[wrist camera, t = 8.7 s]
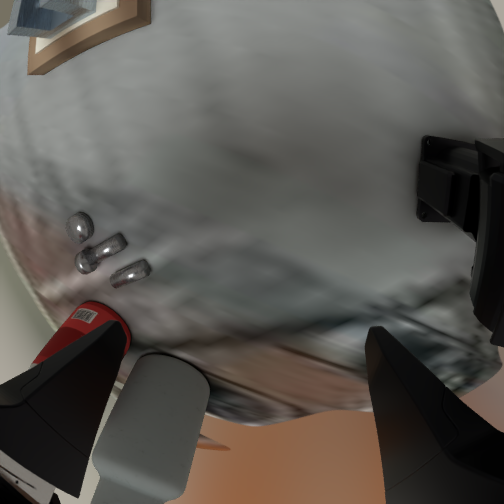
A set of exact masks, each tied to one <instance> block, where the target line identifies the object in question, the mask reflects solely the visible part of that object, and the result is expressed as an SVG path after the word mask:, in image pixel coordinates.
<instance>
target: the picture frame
mask: <svg viewBox="0 0 504 504" xmlns="http://www.w3.org/2000/svg"><path fill="white" fill-rule="evenodd" d="M149 24H151V0H97V2H96V12H95V13H93V14H91V15H89V16H88V17H86V18H84V19H82V20H80V21H79V22H77V23H75V24H73V25H72V26H70V27H68V28H67V29H65V30H64V31H62V32H60V33H59V34H57V35H56V36H54V37H53V38H51V39H47V38H39V37H30V41H29V53H28V75H44V74H46V73H47V72H49V71H50V70H52V69H54V68H55V67H57V66H59V65H60V64H62V63H64V62H65V61H67V60H69V59H71V58H73V57H74V56H76V55H78V54H80V53H82V52H84V51H86V50H88V49H90V48H92V47H94V46H96V45H98V44H100V43H103V42H105V41H107V40H109V39H112V38H114V37H116V36H119V35H121V34H124V33H126V32H129V31H132V30H134V29H137V28H140V27H143V26H146V25H149Z"/></svg>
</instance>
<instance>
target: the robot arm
mask: <svg viewBox="0 0 504 504" xmlns="http://www.w3.org/2000/svg"><path fill="white" fill-rule="evenodd" d="M428 140H430V145H428V144H427V141H428ZM417 196H418V197H419V199H418V208H417V217H418V219H419V220H421V221H423V222H452V223H453V224H454V225H455V226H457V227H458V228H459V229H460V230H462V231H463V232H464V233H465V234H467V235H468V236H469V237H470V238H471V239H473V240H474V241H475V242H476V250H475V258H474V265H473V267H472V270H471V277H472V279H471V285H470V297H471V300H472V304H473V306H474V311H473V313H474V315H475V316H476V317H477V319H478V320H479V321H480V322H481V323H482V324H483V325H484V326H485V327H486V328H487V329H489V330H490V331H491V332H493V334H492V336H491V339H490V343H491V344H493V345H497V346H501V347H504V138H492V139H475V144H470V143H466V142H461V141H456V140H451V139H446V138H440V137H434V136H428V135H427V136H424V137H423V139H422V158H421V163H420V166H419V181H418V193H417ZM424 212H425V214H424V216H423V217H422V213H424ZM126 344H127V335H126V333H125V331H124V329H123V326H122V324H121V322H120V321H118V320H108V321H107V322H105V323H103V324H102V325H100V326H99V327H97V328H95V329H94V330H92V331H90V332H89V333H87V334H86V335H84V336H82V337H81V338H79V339H77V340H76V341H74V342H73V343H71V344H69V345H68V346H66V347H64V348H63V349H61V350H60V351H58V352H56V353H55V354H53V355H52V356H50V357H48V358H47V359H45V360H44V361H42V362H40V363H39V364H37V365H36V366H34V367H32V368H31V369H29V370H28V371H26V372H24V373H22V374H20V375H18V376H16V377H14V378H12V379H11V380H9V381H7V382H5V383H3V384H1V385H0V504H61V503H60V500H59V498H58V495H57V494H56V493H54V490H55V488H58V489H60V490H62V491H64V492H66V493H68V494H70V495H72V496H74V497H76V498H79V496H80V491H81V488H82V483H83V479H84V475H85V472H86V468H87V465H88V460H89V457H90V454H91V450H92V447H93V444H94V440H95V437H96V434H97V431H98V428H99V425H100V422H101V419H102V416H103V413H104V410H105V407H106V405H107V402H108V398H109V396H110V394H111V391H112V388H113V385H114V383H115V380H116V377H117V375H118V372H119V368H120V365H121V361H122V357H123V354H124V350H125V347H126ZM365 355H366V364H367V373H368V384H369V391H370V396H371V401H372V406H373V412H374V416H375V422H376V428H377V434H378V440H379V447H380V453H381V460H382V468H383V477H384V486H385V498H386V504H504V433H503V432H501V431H499V430H497V429H496V428H494V427H493V426H492V425H490V424H489V423H488V422H487V421H486V420H484V419H483V418H482V417H480V416H479V415H478V414H477V413H475V412H474V411H473V410H472V409H471V408H469V407H468V406H467V405H466V404H465V403H463V402H462V401H461V400H460V399H459V398H458V397H457V396H456V395H455V394H454V393H453V392H452V391H451V390H450V389H449V388H448V387H445V385H444V384H443V383H442V382H441V381H440V380H439V379H438V378H437V377H436V376H435V375H434V374H433V373H432V372H431V371H430V370H429V369H428V368H427V367H426V366H425V365H424V364H423V363H421V362H420V361H419V360H418V359H417V358H416V357H415V356H414V355H413V354H412V353H411V352H410V351H409V350H408V349H407V348H405V347H404V346H403V345H402V344H401V343H400V342H399V341H398V340H397V339H396V338H395V337H394V336H392V335H391V334H390V333H389V332H388V331H387V330H386V329H385V328H384V327H382V326H372V327H370V329H369V332H368V335H367V339H366V343H365Z"/></svg>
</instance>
